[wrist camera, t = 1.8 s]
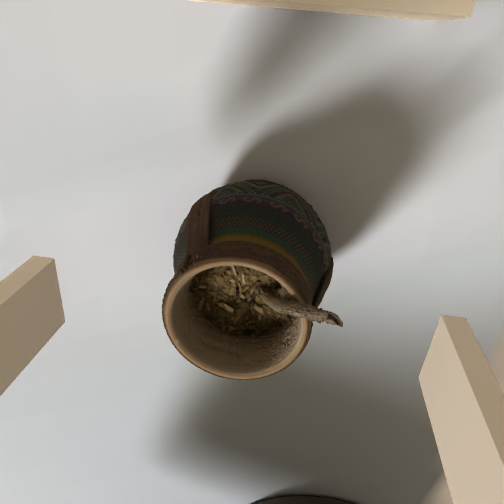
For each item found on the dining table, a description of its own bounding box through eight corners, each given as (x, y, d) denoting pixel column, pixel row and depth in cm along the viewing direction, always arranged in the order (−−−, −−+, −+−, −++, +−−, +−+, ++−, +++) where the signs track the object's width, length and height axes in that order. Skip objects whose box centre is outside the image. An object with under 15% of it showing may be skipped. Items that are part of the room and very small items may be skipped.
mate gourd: (165, 220, 22) (67, 339, 14) (273, 128, 19) (236, 205, 11) (252, 311, 24) (216, 466, 16) (363, 239, 21) (394, 382, 13)
